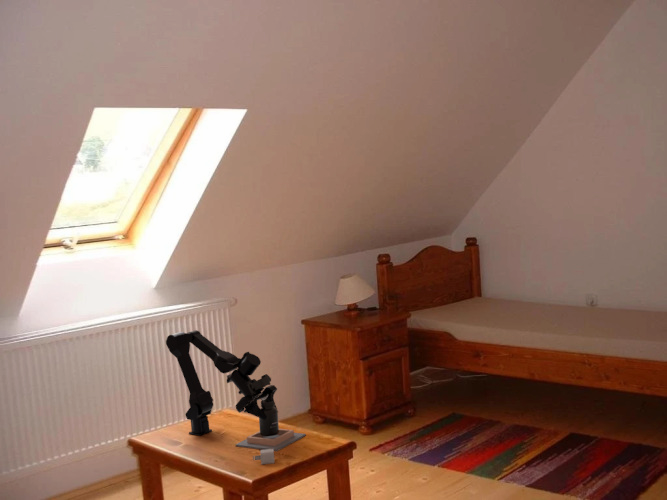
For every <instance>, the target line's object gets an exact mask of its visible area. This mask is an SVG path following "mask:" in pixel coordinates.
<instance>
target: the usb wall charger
mask: <svg viewBox="0 0 667 500" xmlns="http://www.w3.org/2000/svg"><path fill="white" fill-rule="evenodd" d="M259 450H260V451H259V452H260V454H258V455H253V456H252V460H253V461H259V460H260V464H261V465H270V464H275V453H274V452H275V451H274V449H266V450H262V449H259Z"/></svg>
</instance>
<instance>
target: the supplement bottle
mask: <svg viewBox="0 0 667 500" xmlns="http://www.w3.org/2000/svg"><path fill="white" fill-rule="evenodd" d="M274 402H275V400H263V401H262V400H261V401H260V409H261V410H262V412H263V413H264V415H265V416H266V419H265V420H264V419H261V418H259V417H258V426H259V431H260V434H261V435H262V436H274V435H277V434H278V433H279V429H280V428H279V410H278V408H277V407H276V408H277V409H276V408H275V407H274V406H275V405H276V403H275V404H274Z"/></svg>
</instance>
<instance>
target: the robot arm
mask: <svg viewBox="0 0 667 500" xmlns="http://www.w3.org/2000/svg"><path fill="white" fill-rule="evenodd" d="M165 344H166V347H167V349H168V351H169V352H170V354H172V356H174V357H175V358H176V359H177V362H178V365H179V367H180V370H181V372H182V375H183V378H184V381H185V384H186V387H187V389H188V391H189V397H188V403H189V408H188V410H187V411H186V412H185V417H186V419H187V420H190V427H191V431H189V432H188V434H189V435H194V436H203V435H205V434H209V433H211V432H213V429H210V423H209V416H208V415H211V414H212V410H213V407H214V399H213V397H212V394H211V391H210V390H207V391H206V390H205V389H204V388H203V387H202V383H201V381H200V378H199V375H198V372H197V371H196V368H195V365H194V363H193V360H192V357H191V355H190V351H191V350H190V348H191V345H193V346H194V347H196V349H198V350H199V351H200V352H201V353H202V354H204V355H206V357H208V358H209V359H211V360H212V362H213V365H214V367H215V368H216V369H217V370H218V372H219V373H221V374H227V373H230V374H227V375H226V384H229V383H231V382H232V383H233V384H234V385H235V386H236V388H237V389H238V390H239V391H238V392H237V393H238V394H239V395H243V396H242V397H241V398H240V399H239V400H238V402H237V403H236V404H235V410H236V411H237V412H238V413H239V414H240V413H243V412H244V413H247V414H251V415H253V416H255V417H258V419H259V418H261V419H264V420H265V419H266V416H265V415H264V413H263V412H262V410H261V407H260V406H259V404H258V401H259V400H261V401H263V400H274V395H275V394H276V392H277V391H278V388H277V386H275V385H273V384H271V382H272V377H270V376H269V375H268V374H267V373H266V374H264V375H262V376H261V377H260V378H259V379H258V380H257V379H255V378H253V379H252V378H250V376H253V374H254V373H255V371H257V369H258V367H259V366H260V365H261V362H262V361H261V359H260V357H259V356H257V354H256V355H255V354H253V353H251V352H250V351H246V352H244V353H243V355H242V357H237V355H235V354H233V353H231V352H229V351H225V350H222V349H221V348H220V347H218V346H217V345H216V344H214V343H213V342H212V341H210V340H209V338H207V337H205V336H204V335H203V334H202V333H201V331H200V330H192V331H189V332H187V333H186V332H184V331H179V332H175V333H172V334H169V335H168V336H167V337H166V340H165ZM264 387H265V388H264ZM274 404H275V406H274V407H275V408H276V409H277V410H278V407H277V405H276V402H275V400H274Z"/></svg>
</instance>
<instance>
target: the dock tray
mask: <svg viewBox="0 0 667 500" xmlns="http://www.w3.org/2000/svg"><path fill="white" fill-rule="evenodd" d="M303 437H306V433H303V432H301V433H300V432H294V429H285V428H279V433H278V434H277V435H274V436H262V435H261V434H260V430H259V431H256V432H255V433H253V434H250V435H248V436H246V438H245V439H244V440H242V441H240V442H238V443H236V444H235V447H238V448H245V449H247V448H248V449H255V450H266V449H274V452H278V451H280V450H282V449H284V448H285V447H288V446H289V445H291V444H292V443H295V442H297V441H299V440H300V439H302V438H303Z"/></svg>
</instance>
